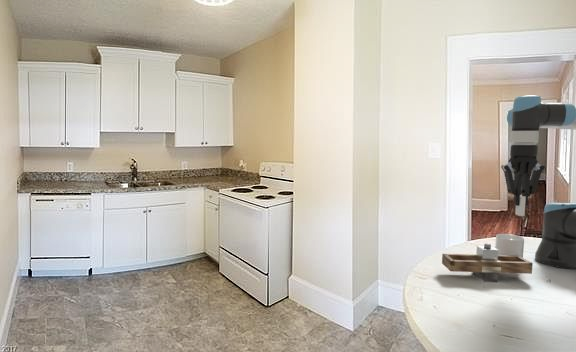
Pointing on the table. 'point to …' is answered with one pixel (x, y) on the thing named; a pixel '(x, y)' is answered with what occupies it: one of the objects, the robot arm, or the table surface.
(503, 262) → the beam
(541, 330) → the table surface
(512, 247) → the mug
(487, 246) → the white block with knob
